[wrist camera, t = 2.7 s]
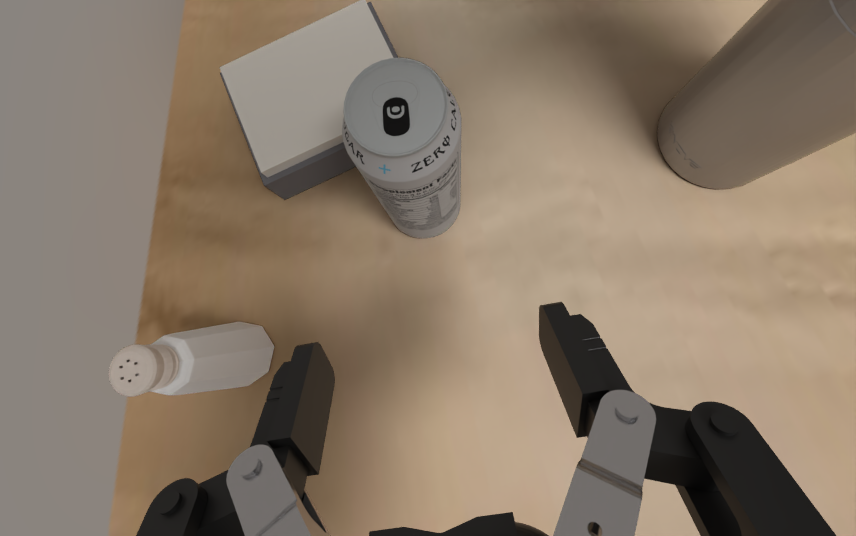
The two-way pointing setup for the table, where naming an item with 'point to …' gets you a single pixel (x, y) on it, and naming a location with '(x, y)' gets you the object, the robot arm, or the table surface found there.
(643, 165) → the table surface
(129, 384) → the pepper shaker
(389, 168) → the energy drink can
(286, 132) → the podium
